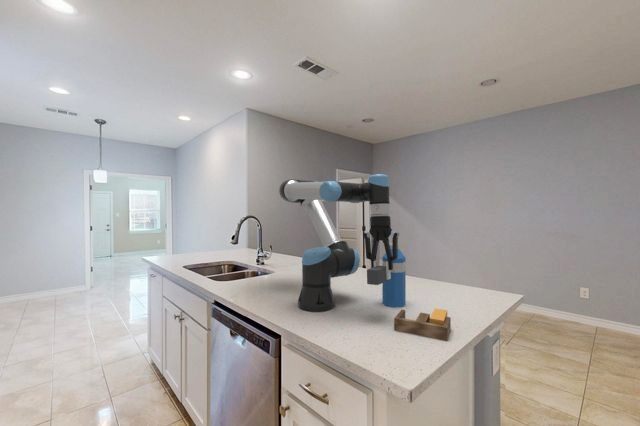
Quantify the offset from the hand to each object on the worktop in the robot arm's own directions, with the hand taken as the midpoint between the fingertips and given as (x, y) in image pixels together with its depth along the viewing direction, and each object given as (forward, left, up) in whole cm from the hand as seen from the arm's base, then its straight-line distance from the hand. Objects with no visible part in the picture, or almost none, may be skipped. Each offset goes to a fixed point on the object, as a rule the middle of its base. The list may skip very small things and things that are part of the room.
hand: (382, 278), depth 107 cm
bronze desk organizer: (+15, -7, -14) cm, 22 cm away
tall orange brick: (+20, -3, -14) cm, 25 cm away
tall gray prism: (0, -4, -1) cm, 4 cm away
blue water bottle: (0, +15, -14) cm, 21 cm away
